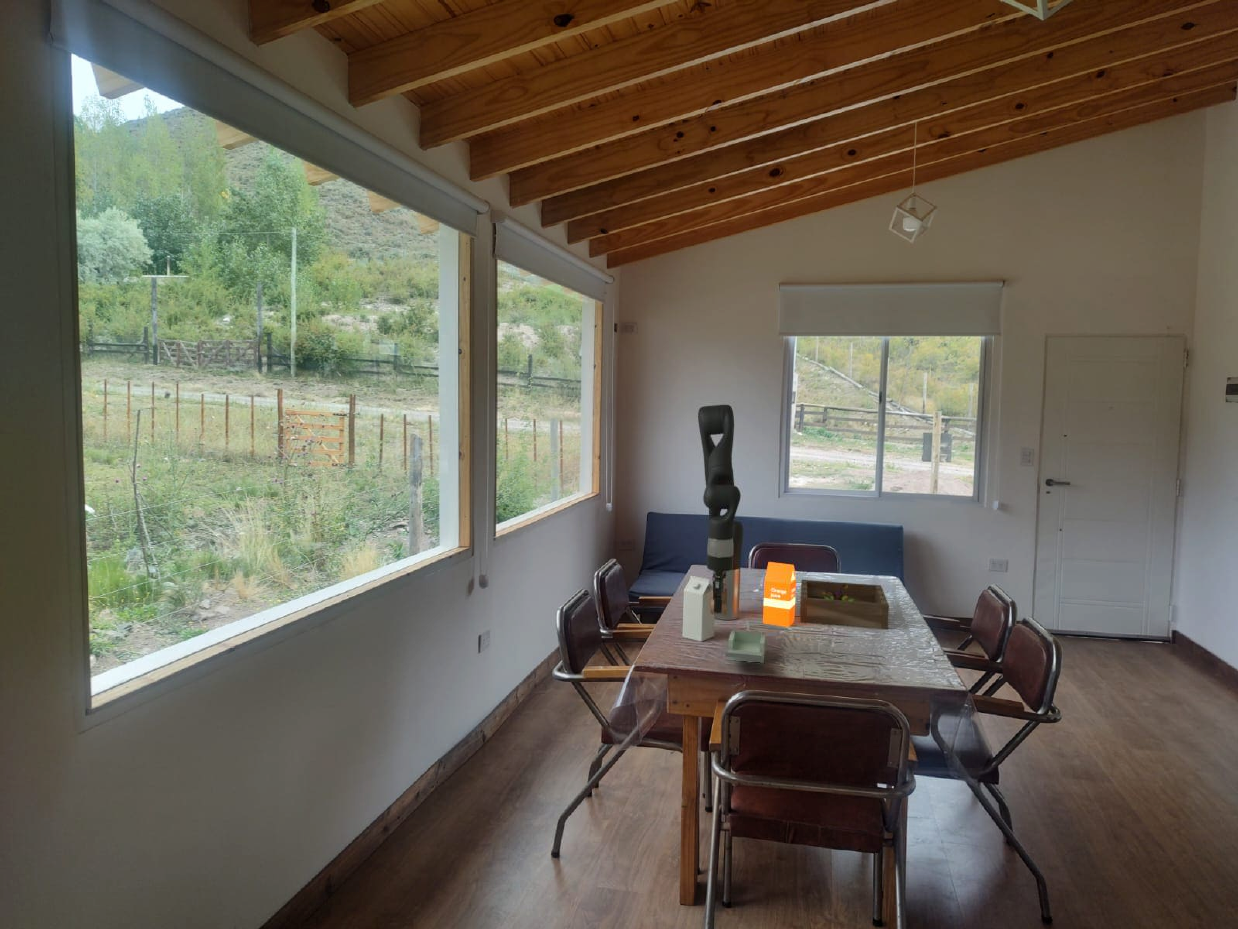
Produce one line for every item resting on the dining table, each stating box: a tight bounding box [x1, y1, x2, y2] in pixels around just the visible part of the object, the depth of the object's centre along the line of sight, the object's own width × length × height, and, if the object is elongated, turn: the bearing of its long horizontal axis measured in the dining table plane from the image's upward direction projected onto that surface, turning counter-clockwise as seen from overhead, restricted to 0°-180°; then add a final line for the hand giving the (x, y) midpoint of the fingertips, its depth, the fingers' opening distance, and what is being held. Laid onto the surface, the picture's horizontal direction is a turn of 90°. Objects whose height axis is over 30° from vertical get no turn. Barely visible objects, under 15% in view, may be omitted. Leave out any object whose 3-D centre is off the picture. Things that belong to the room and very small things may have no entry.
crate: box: [727, 629, 767, 664], centre depth 233 cm, size 10×10×6 cm
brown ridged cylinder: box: [711, 587, 727, 615], centre depth 235 cm, size 5×5×8 cm
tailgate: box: [725, 649, 763, 660], centre depth 223 cm, size 1×10×11 cm
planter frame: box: [799, 579, 890, 631], centre depth 279 cm, size 28×28×8 cm
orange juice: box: [762, 561, 797, 628], centre depth 268 cm, size 8×9×20 cm
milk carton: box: [682, 575, 715, 642], centre depth 250 cm, size 7×7×19 cm
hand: (718, 609), depth 236 cm, fingers closed on brown ridged cylinder, 4 cm apart
